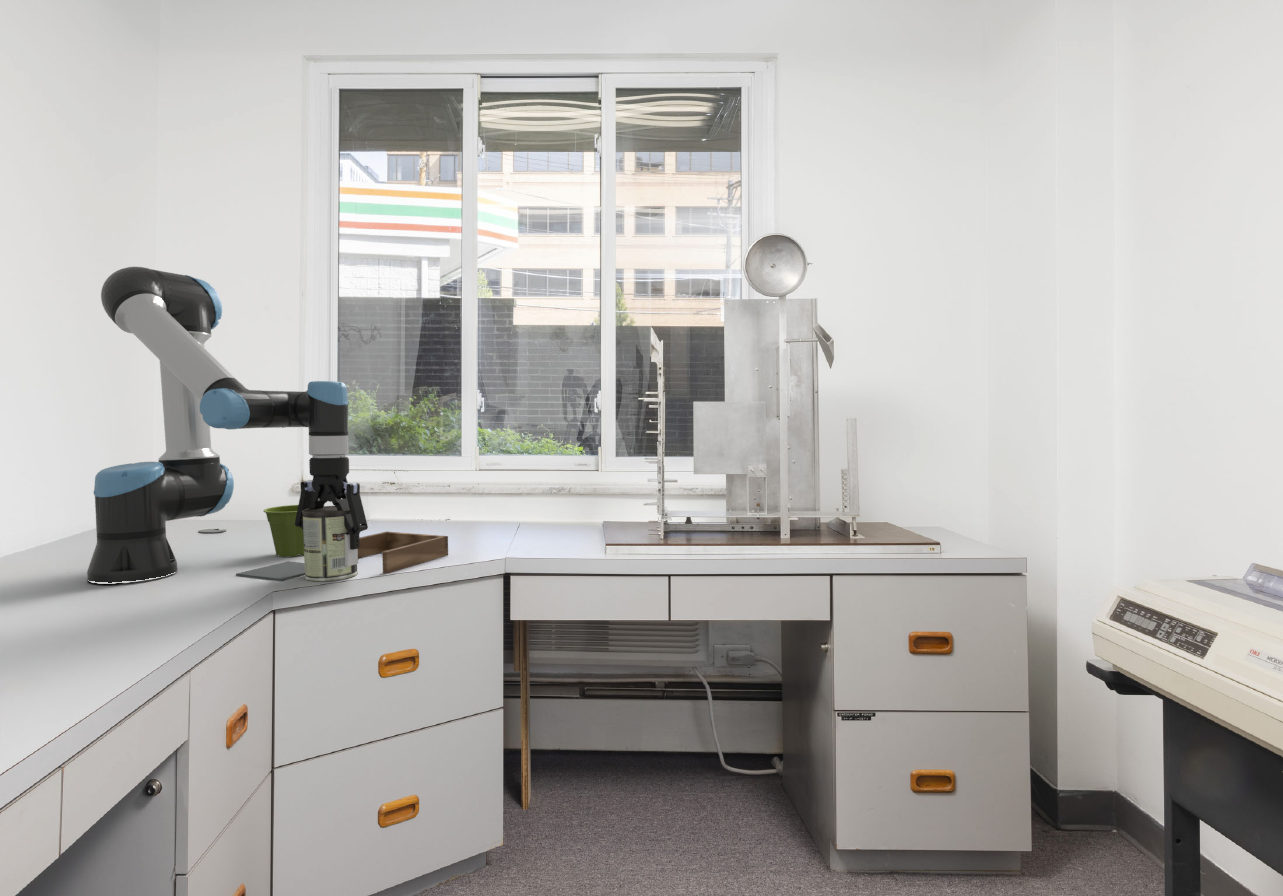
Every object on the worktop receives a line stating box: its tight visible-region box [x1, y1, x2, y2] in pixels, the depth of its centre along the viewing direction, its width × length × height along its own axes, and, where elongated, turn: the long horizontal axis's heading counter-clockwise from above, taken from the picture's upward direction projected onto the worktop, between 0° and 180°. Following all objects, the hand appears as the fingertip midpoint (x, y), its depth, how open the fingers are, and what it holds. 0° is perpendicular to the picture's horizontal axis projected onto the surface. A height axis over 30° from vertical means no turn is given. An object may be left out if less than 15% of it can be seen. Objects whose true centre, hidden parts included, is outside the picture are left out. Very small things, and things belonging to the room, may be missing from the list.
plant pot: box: [262, 504, 304, 558], centre depth 169 cm, size 12×12×11 cm
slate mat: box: [235, 560, 305, 582], centre depth 151 cm, size 13×13×1 cm
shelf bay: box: [358, 531, 449, 574], centre depth 162 cm, size 18×20×4 cm
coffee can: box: [302, 505, 359, 582], centre depth 146 cm, size 10×10×14 cm
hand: (331, 562), depth 147 cm, fingers closed on coffee can, 10 cm apart
